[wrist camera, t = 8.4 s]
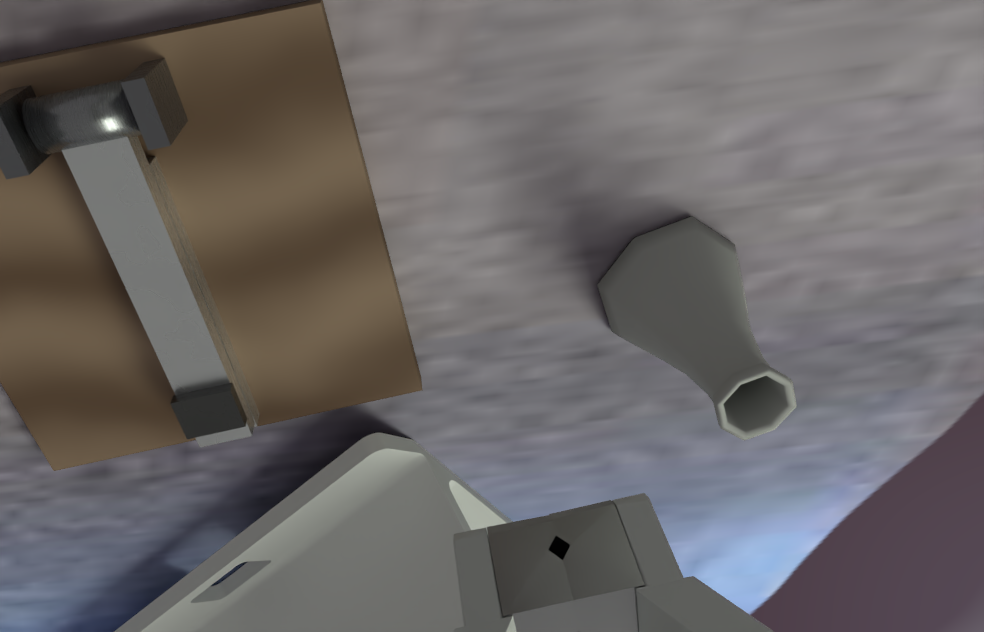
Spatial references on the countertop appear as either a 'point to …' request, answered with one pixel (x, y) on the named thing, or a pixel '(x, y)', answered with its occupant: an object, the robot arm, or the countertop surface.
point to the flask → (697, 322)
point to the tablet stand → (339, 553)
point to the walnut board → (206, 242)
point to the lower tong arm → (160, 123)
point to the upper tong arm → (144, 251)
